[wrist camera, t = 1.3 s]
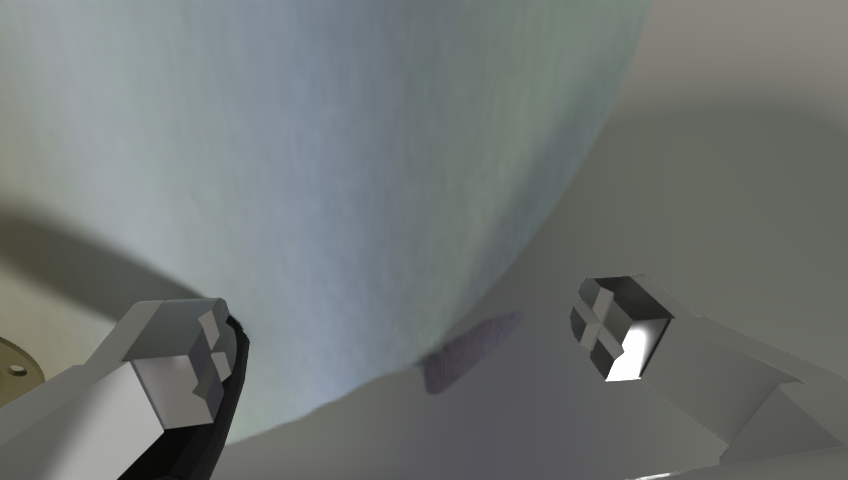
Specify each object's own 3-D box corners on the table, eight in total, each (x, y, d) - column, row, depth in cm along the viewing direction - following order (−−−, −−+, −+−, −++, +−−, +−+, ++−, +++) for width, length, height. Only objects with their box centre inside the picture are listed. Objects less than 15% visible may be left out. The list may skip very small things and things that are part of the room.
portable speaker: (157, 330, 42) (28, 526, 26) (226, 297, 42) (141, 476, 25) (208, 372, 47) (126, 562, 30) (271, 343, 46) (224, 521, 29)
